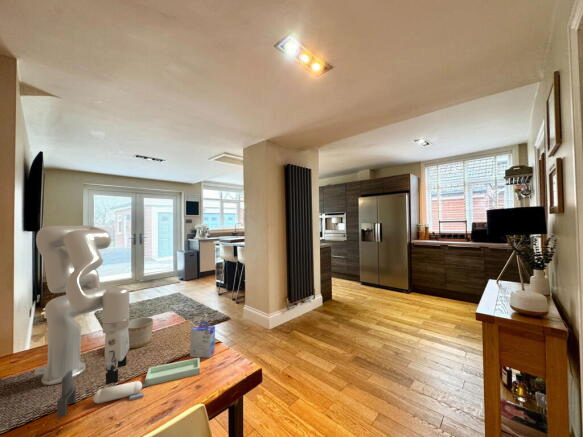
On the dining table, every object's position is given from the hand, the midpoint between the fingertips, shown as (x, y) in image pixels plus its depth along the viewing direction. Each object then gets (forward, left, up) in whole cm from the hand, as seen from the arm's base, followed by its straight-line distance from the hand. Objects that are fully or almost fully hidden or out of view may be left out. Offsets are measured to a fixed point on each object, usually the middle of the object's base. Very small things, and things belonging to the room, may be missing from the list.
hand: (116, 374), depth 80 cm
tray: (+17, +7, -8) cm, 21 cm away
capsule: (0, +1, -9) cm, 9 cm away
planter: (-2, +41, -9) cm, 42 cm away
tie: (-14, +1, -8) cm, 16 cm away
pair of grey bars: (+6, +1, -8) cm, 11 cm away
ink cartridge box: (+28, +18, -9) cm, 35 cm away
